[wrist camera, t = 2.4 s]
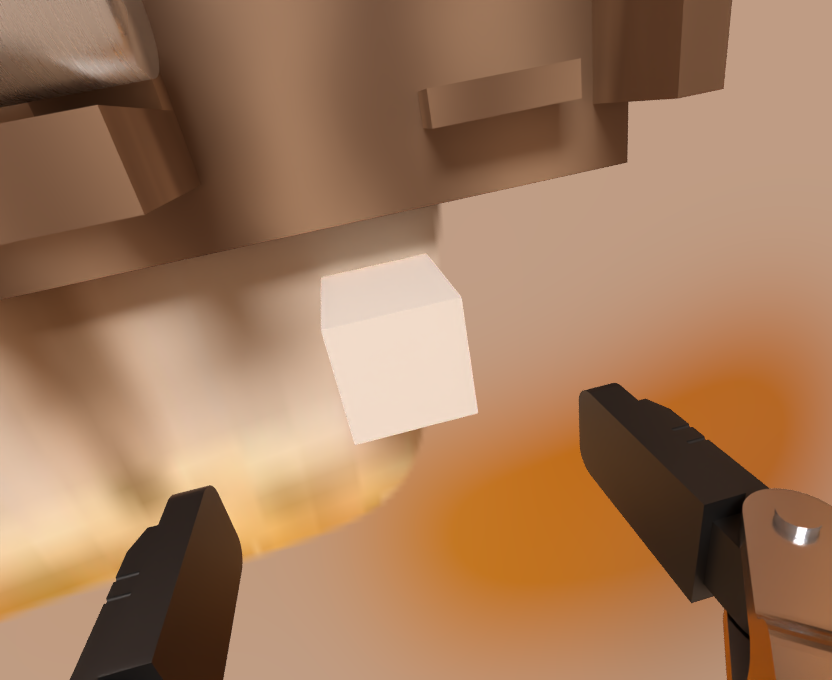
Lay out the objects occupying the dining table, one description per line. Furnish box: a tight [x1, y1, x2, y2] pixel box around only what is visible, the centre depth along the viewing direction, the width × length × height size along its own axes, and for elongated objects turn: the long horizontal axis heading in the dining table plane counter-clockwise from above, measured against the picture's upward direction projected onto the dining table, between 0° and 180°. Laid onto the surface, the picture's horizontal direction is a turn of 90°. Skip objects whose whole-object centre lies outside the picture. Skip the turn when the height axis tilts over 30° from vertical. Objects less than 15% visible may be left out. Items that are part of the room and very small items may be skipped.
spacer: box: [321, 253, 478, 445], centre depth 16 cm, size 4×4×5 cm
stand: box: [0, 0, 732, 300], centre depth 11 cm, size 26×12×7 cm, turn 101°
